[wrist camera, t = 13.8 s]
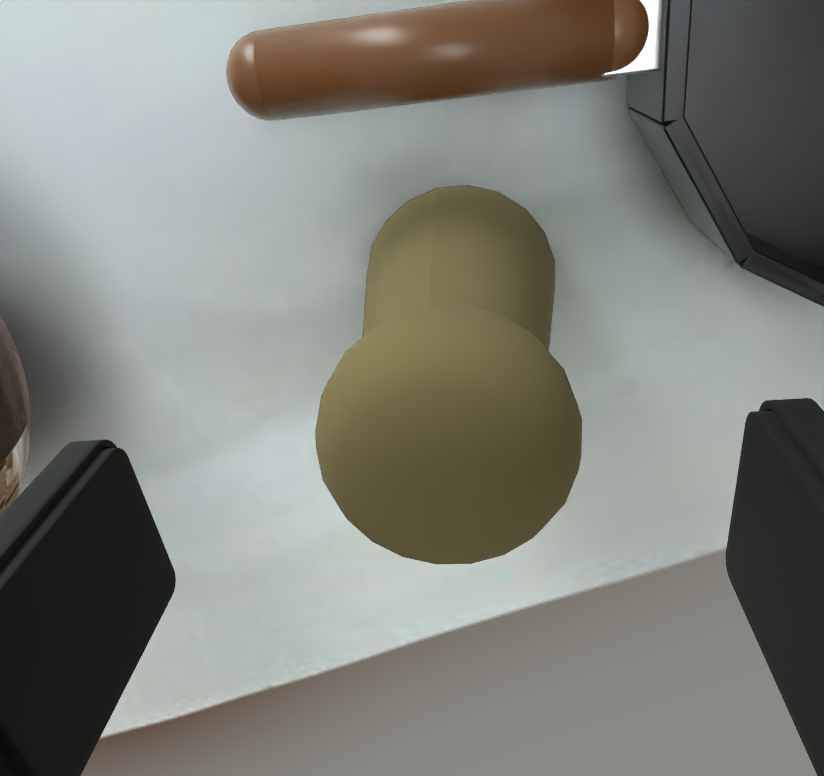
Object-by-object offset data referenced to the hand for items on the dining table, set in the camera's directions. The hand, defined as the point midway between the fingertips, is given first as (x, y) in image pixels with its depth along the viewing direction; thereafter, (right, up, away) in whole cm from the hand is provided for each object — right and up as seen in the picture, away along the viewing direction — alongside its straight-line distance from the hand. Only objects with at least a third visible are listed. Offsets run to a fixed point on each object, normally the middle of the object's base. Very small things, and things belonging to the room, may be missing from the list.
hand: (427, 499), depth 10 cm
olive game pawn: (+1, +5, +11) cm, 13 cm away
